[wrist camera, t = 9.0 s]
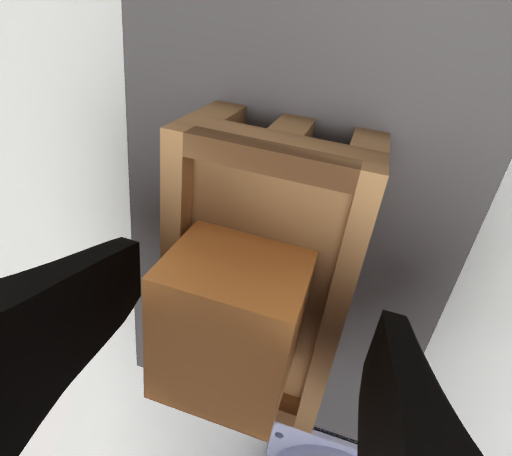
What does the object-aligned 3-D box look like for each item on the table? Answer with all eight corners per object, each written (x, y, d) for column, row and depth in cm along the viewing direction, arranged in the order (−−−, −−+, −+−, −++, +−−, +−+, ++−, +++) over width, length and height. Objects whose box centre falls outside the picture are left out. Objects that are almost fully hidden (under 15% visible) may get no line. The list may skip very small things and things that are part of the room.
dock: (382, 394, 20) (380, 448, 18) (165, 325, 23) (137, 365, 20) (553, -25, 11) (599, -36, 9) (168, -66, 14) (118, -84, 11)
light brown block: (293, 357, 13) (268, 442, 10) (191, 324, 13) (144, 397, 11) (318, 251, 11) (295, 324, 8) (197, 219, 11) (141, 278, 9)
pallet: (327, 353, 16) (311, 434, 13) (202, 314, 17) (160, 381, 14) (390, 133, 12) (388, 175, 9) (216, 100, 13) (160, 127, 10)
